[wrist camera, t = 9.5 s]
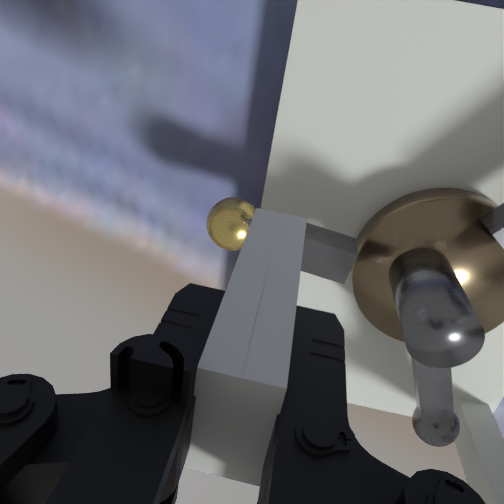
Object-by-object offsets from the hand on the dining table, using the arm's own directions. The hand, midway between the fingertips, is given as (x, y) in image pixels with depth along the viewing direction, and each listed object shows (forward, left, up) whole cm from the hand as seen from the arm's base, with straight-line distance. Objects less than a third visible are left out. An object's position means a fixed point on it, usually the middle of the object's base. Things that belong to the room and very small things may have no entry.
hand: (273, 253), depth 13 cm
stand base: (+3, +7, -10) cm, 13 cm away
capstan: (+3, +5, -8) cm, 10 cm away
